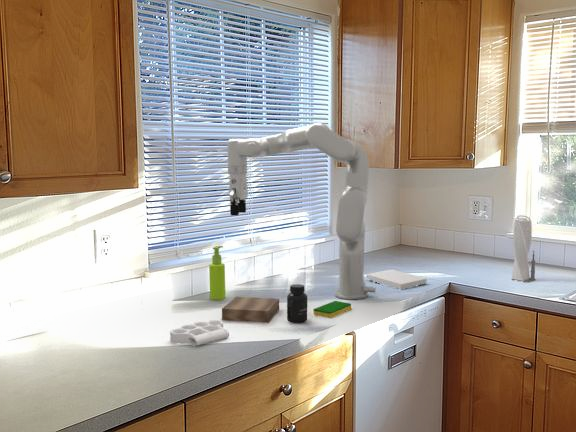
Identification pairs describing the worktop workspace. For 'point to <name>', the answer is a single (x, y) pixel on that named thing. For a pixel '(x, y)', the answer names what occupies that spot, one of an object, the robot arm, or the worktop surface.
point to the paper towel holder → (522, 250)
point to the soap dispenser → (217, 276)
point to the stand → (250, 309)
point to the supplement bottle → (297, 304)
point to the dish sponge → (332, 309)
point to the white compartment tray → (199, 333)
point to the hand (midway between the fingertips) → (238, 213)
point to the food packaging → (396, 279)
